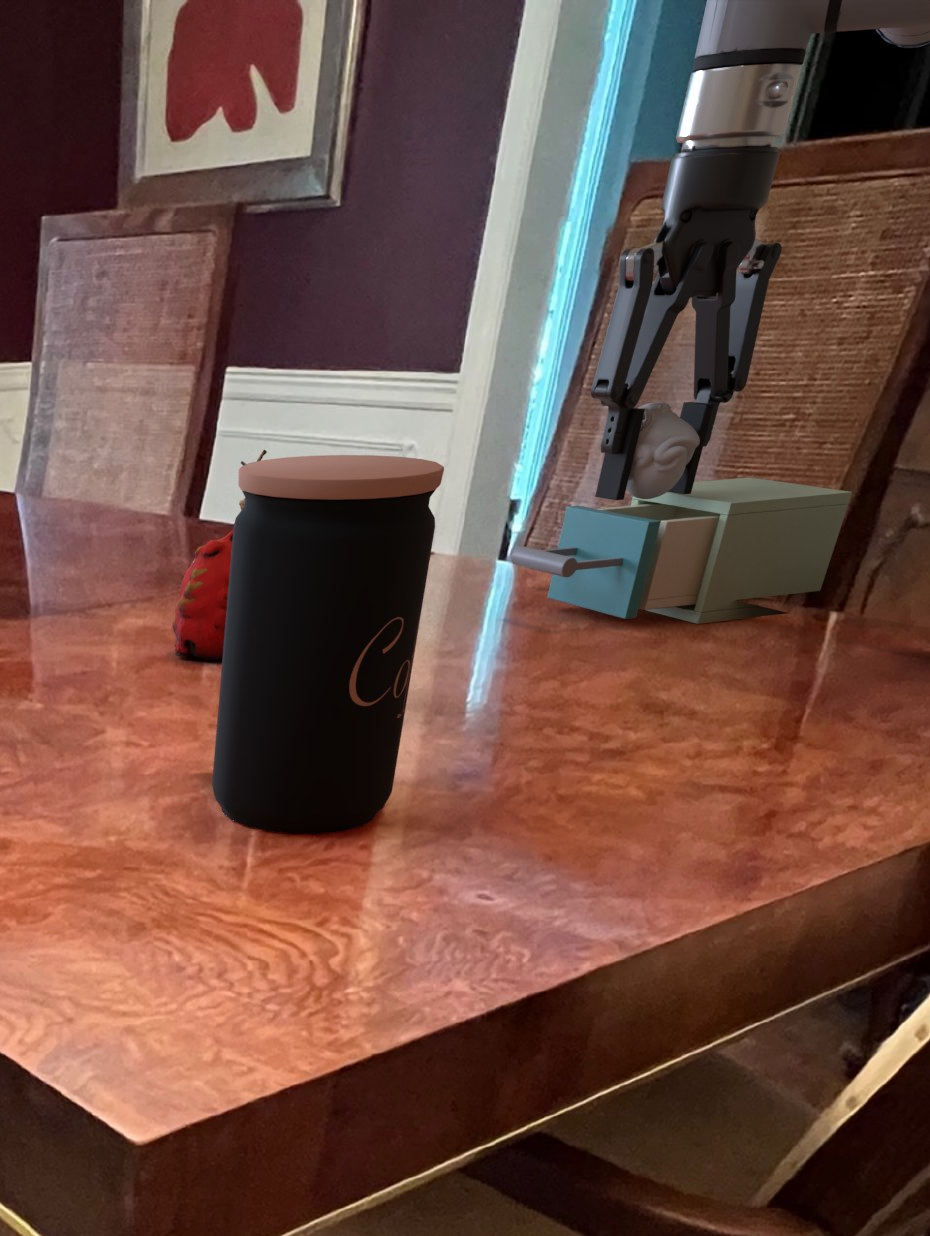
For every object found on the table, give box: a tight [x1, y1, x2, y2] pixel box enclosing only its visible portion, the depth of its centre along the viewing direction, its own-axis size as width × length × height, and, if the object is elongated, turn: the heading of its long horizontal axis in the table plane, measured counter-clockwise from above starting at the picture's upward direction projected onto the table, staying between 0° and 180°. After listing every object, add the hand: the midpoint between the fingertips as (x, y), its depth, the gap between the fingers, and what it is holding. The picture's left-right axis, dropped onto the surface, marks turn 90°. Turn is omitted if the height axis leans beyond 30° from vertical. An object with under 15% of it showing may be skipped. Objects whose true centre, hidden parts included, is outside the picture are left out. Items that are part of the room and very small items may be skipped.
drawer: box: [511, 503, 721, 620], centre depth 120 cm, size 18×11×7 cm, turn 108°
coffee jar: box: [211, 454, 445, 835], centre depth 77 cm, size 11×11×18 cm
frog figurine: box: [626, 401, 700, 499], centre depth 115 cm, size 6×7×7 cm
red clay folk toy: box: [172, 449, 268, 662], centre depth 111 cm, size 8×7×15 cm
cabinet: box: [630, 477, 853, 625], centre depth 123 cm, size 13×12×9 cm
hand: (643, 494), depth 117 cm, fingers closed on frog figurine, 6 cm apart
